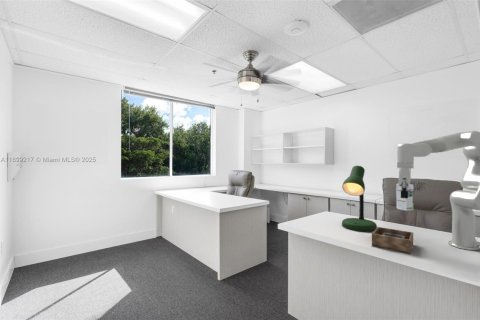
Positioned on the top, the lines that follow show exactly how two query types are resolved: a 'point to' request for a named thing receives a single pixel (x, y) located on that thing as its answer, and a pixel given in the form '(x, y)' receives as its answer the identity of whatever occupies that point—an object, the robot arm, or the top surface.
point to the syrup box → (405, 202)
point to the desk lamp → (357, 188)
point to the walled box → (393, 239)
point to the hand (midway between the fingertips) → (404, 197)
